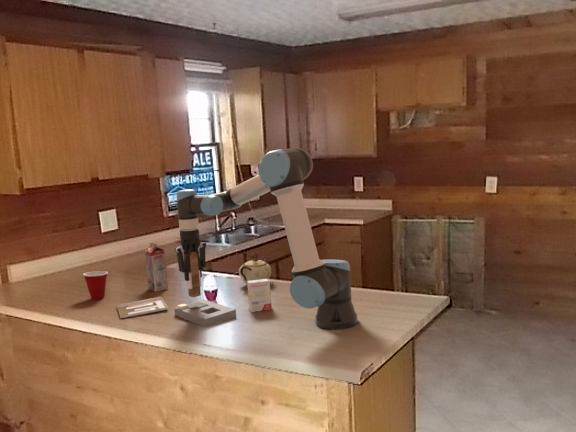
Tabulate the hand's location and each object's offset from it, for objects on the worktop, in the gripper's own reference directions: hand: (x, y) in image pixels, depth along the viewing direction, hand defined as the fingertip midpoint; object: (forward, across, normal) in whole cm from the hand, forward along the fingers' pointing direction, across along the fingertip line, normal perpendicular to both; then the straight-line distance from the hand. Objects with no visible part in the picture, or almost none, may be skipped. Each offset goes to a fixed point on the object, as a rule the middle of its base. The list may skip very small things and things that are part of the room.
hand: (194, 287), depth 226 cm
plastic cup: (+11, +16, -57) cm, 60 cm away
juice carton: (+11, -9, -47) cm, 49 cm away
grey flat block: (+11, 0, +6) cm, 12 cm away
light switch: (+12, +11, -24) cm, 29 cm away
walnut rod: (+4, 0, 0) cm, 4 cm away
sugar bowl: (+11, -41, -13) cm, 44 cm away
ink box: (+11, -19, +17) cm, 28 cm away
